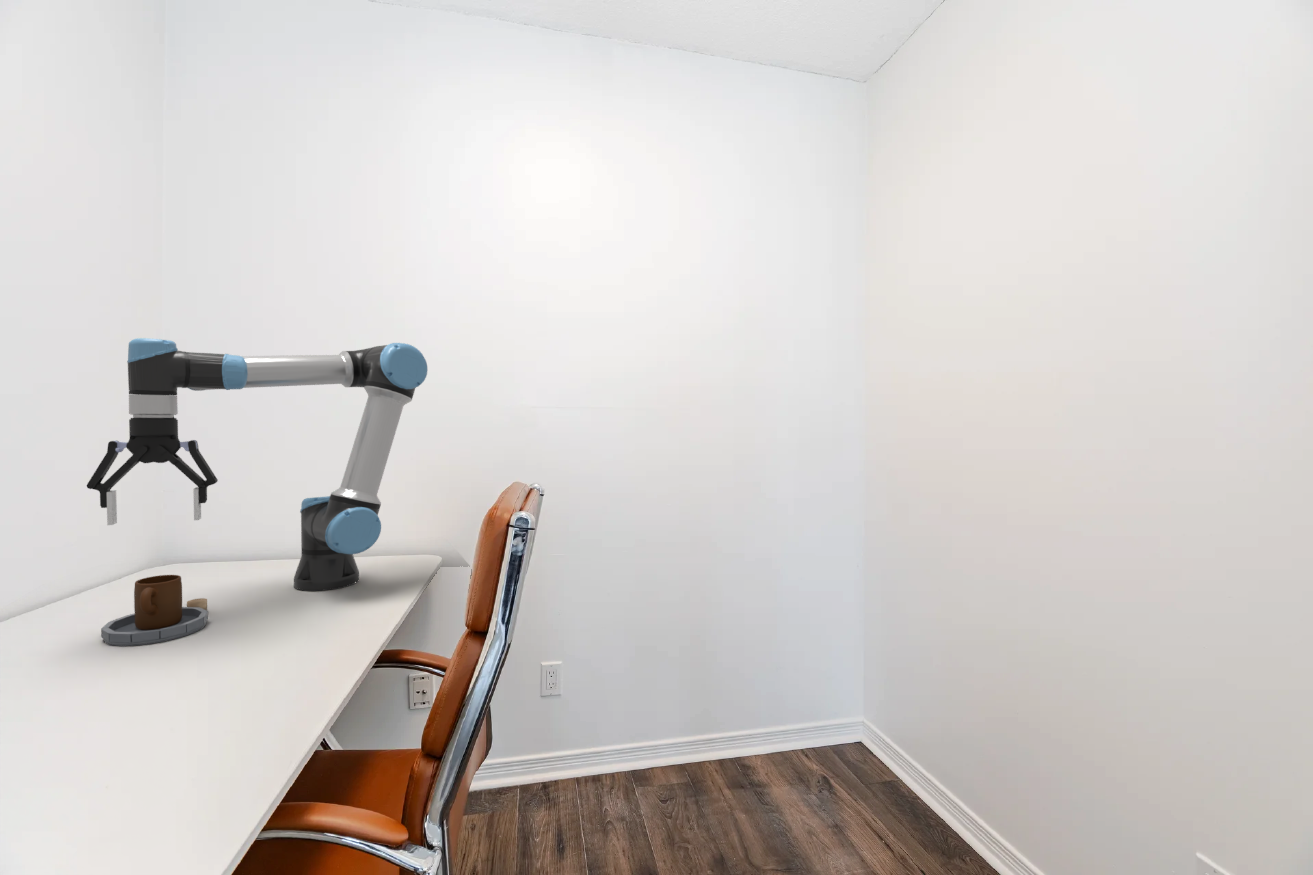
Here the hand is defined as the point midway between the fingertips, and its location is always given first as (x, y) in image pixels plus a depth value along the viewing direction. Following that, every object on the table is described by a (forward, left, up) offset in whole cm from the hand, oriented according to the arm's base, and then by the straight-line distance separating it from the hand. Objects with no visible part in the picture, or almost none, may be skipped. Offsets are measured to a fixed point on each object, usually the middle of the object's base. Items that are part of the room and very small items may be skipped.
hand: (156, 521), depth 122 cm
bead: (-5, -9, -23) cm, 25 cm away
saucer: (0, 0, -22) cm, 22 cm away
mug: (0, 0, -22) cm, 22 cm away
